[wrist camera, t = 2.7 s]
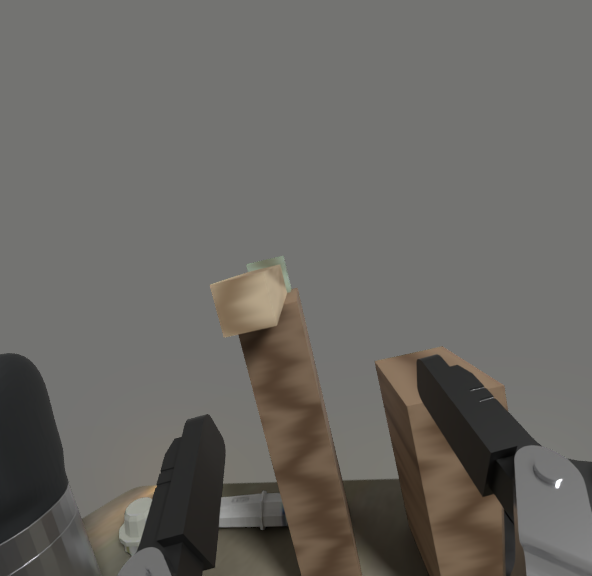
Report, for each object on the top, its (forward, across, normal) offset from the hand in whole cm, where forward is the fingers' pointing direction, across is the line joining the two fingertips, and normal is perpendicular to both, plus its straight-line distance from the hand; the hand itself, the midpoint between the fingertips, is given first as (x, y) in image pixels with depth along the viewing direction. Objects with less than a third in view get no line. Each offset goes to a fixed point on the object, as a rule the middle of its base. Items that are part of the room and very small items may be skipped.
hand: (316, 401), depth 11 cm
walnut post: (+8, +3, +36) cm, 37 cm away
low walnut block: (+4, -10, +35) cm, 36 cm away
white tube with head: (+14, +21, +39) cm, 46 cm away
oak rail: (+16, +3, +5) cm, 17 cm away
